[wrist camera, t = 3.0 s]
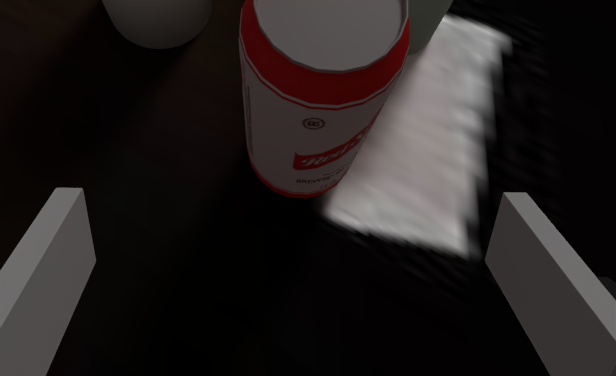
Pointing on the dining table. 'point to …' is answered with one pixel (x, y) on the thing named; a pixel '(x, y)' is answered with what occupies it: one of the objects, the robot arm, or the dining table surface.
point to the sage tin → (424, 21)
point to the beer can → (316, 84)
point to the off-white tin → (159, 20)
